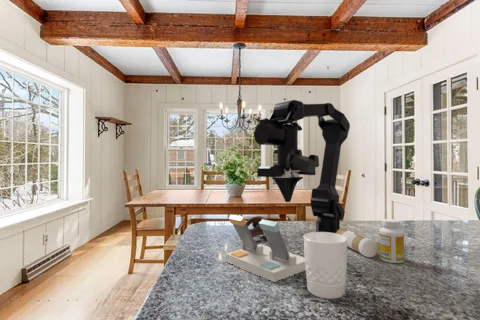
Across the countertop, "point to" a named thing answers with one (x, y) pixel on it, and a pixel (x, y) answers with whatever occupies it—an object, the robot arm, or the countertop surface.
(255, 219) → the pottery mug
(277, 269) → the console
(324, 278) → the white cup
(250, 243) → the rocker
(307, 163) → the robot arm
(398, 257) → the supplement bottle
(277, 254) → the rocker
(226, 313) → the countertop surface
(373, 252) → the sprinkles bottle
